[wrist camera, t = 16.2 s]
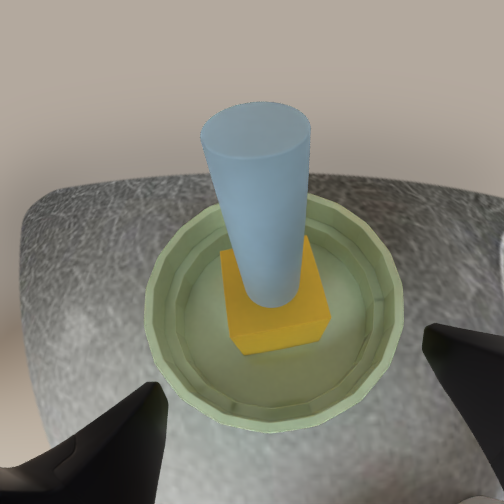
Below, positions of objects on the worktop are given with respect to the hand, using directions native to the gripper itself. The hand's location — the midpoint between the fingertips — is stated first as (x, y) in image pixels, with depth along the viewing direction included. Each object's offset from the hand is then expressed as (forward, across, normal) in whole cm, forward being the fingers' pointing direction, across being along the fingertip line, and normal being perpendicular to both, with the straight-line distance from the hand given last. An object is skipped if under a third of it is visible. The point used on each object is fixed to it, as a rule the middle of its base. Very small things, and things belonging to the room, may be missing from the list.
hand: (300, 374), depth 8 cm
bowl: (+11, 0, +3) cm, 11 cm away
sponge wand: (+10, 0, +3) cm, 11 cm away
